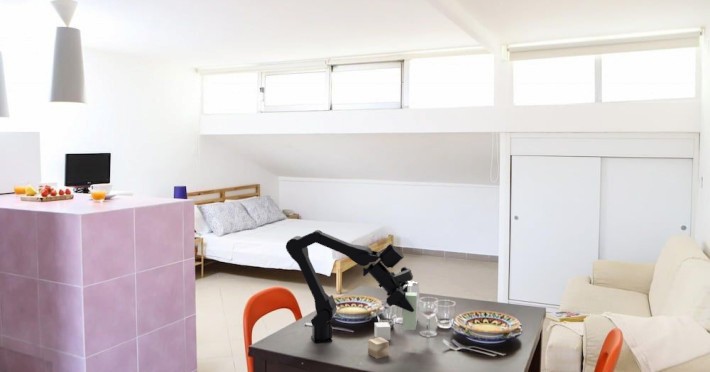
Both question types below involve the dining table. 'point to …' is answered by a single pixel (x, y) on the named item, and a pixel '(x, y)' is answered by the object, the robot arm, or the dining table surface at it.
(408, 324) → the sage block
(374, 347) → the oak cube
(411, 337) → the dining table surface
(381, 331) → the white cube
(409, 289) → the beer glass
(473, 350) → the dining table surface
